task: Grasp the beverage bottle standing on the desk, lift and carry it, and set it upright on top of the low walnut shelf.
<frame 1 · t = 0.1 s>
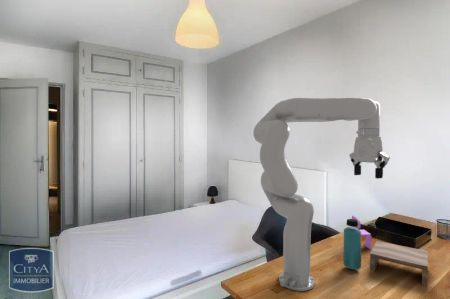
hand: (367, 176, 106), 37 cm above the table, tool pointing down, fingers open, 9 cm apart
toy chair: (359, 247, 128), on the table
walnut shelf: (398, 269, 106), on the table
beverage bottle: (351, 269, 106), on the table
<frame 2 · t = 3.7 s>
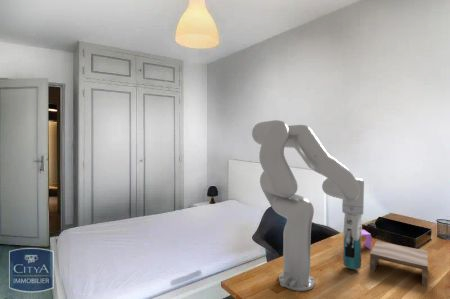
hand: (351, 253, 106), 6 cm above the table, tool pointing down, fingers closed on beverage bottle, 5 cm apart
beverage bottle: (351, 269, 106), on the table, touching gripper
everything else where it was.
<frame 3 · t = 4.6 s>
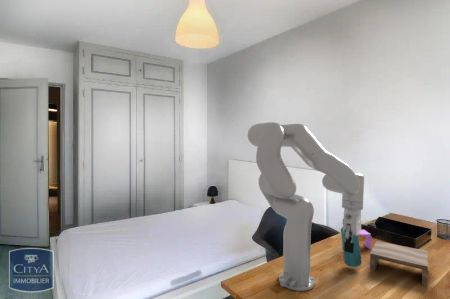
hand: (350, 249, 106), 8 cm above the table, tool pointing down, fingers closed on beverage bottle, 5 cm apart
beverage bottle: (352, 266, 107), point 1 cm above the table, touching gripper
everything else where it was.
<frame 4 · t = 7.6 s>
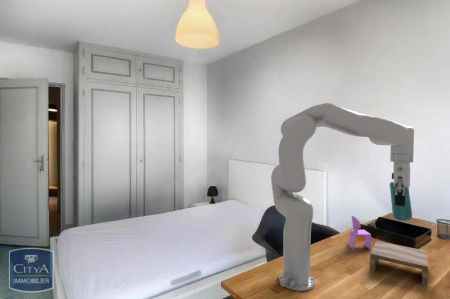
hand: (400, 203, 105), 26 cm above the table, tool pointing down, fingers closed on beverage bottle, 5 cm apart
beverage bottle: (402, 221, 107), point 19 cm above the table, touching gripper
everything else where it was.
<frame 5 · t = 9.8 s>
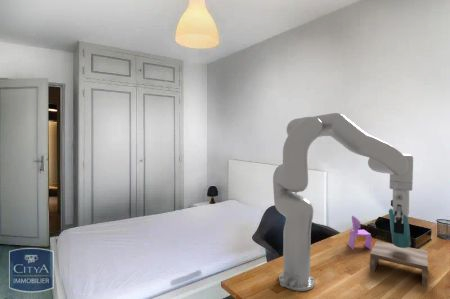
hand: (399, 230, 105), 16 cm above the table, tool pointing down, fingers closed on beverage bottle, 5 cm apart
beverage bottle: (401, 247, 107), point 8 cm above the table, touching gripper
everything else where it was.
when the fingers open (16 cm above the table, at t = 10.2 s): beverage bottle drops 1 cm, resting on walnut shelf.
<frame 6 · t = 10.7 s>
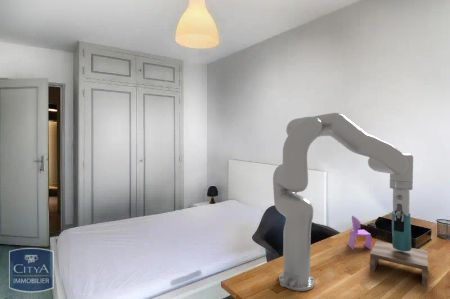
hand: (399, 227, 105), 17 cm above the table, tool pointing down, fingers open, 9 cm apart
beverage bottle: (401, 252, 106), point 7 cm above the table, touching walnut shelf
everything else where it was.
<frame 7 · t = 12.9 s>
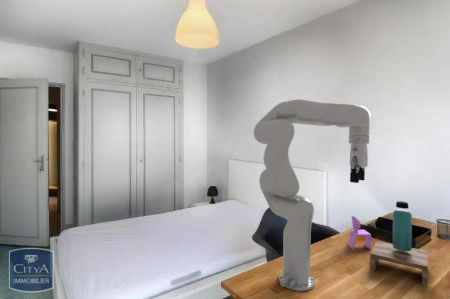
hand: (357, 181, 111), 34 cm above the table, tool pointing down, fingers open, 9 cm apart
nothing on the table moved.
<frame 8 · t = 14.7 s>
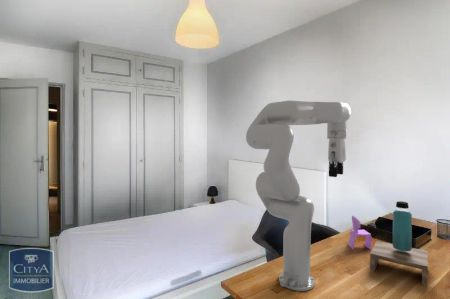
hand: (336, 175, 114), 36 cm above the table, tool pointing down, fingers open, 9 cm apart
nothing on the table moved.
at the end: beverage bottle inside the target area on the walnut shelf (1.2 cm from its centre), point 6.8 cm above the walnut shelf's base; beverage bottle tilted 1°; the gripper is holding nothing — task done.
